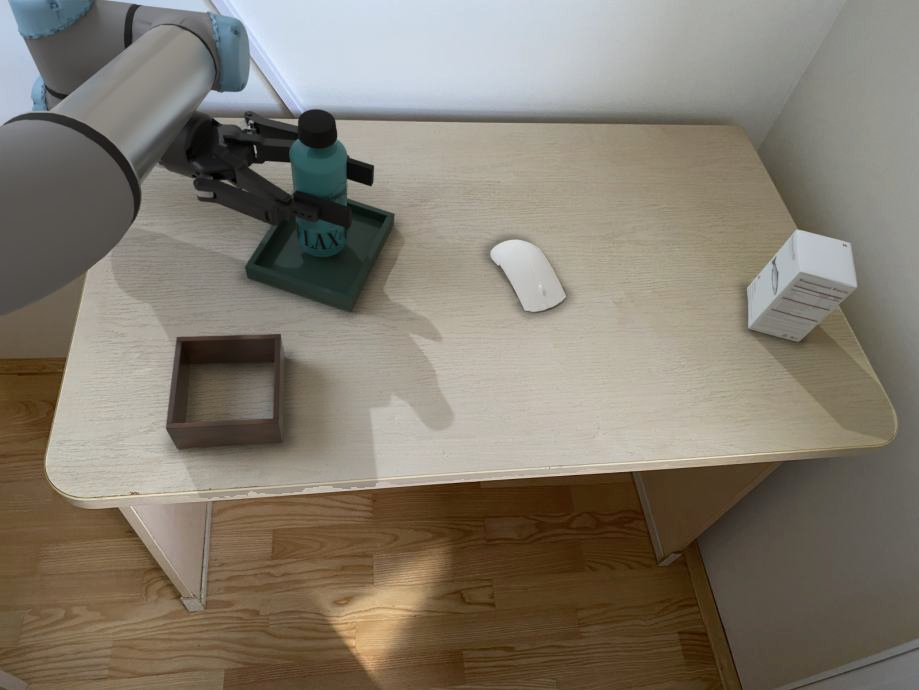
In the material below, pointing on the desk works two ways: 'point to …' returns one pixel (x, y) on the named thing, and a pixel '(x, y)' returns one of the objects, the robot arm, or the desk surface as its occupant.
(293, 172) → the beverage bottle
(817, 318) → the white packaging box
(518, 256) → the computer mouse
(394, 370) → the desk surface
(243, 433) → the crate
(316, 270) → the tray
